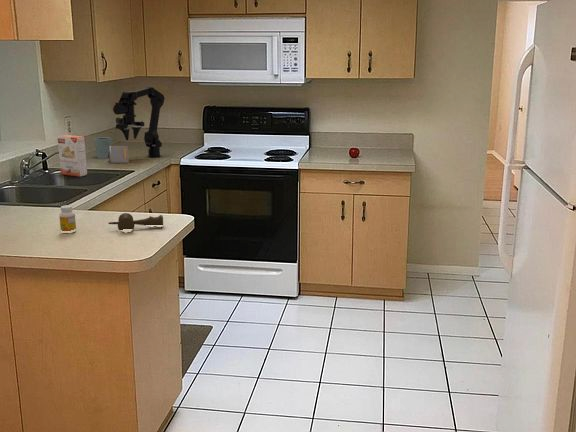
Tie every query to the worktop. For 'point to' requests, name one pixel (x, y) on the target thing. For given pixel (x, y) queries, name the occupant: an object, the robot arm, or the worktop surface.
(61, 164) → the cracker box
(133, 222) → the kendama
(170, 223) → the worktop surface
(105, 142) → the drinking glass
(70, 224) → the supplement bottle
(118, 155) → the pale grey square case
